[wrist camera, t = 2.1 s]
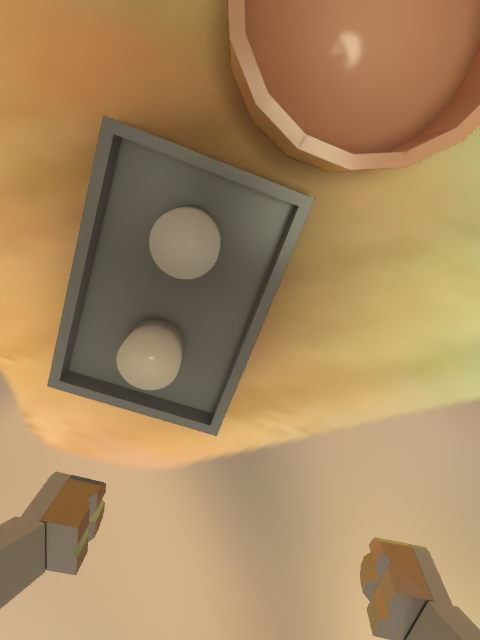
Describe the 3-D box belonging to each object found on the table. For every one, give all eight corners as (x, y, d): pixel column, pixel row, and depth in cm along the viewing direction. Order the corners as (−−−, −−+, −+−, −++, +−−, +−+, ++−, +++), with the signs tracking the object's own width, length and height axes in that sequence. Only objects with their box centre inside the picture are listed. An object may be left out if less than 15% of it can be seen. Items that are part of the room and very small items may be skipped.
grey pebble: (151, 256, 27) (141, 266, 24) (169, 195, 26) (159, 197, 23) (210, 276, 28) (206, 288, 25) (230, 218, 26) (229, 223, 23)
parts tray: (61, 370, 31) (47, 386, 29) (116, 121, 25) (103, 115, 22) (217, 417, 33) (216, 435, 31) (308, 196, 27) (315, 198, 24)
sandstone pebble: (122, 359, 30) (110, 379, 27) (136, 310, 29) (124, 326, 26) (175, 376, 31) (169, 397, 28) (192, 329, 29) (186, 346, 26)
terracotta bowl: (196, 118, 25) (185, 102, 20) (289, -206, 19) (308, -346, 14) (408, 204, 27) (448, 210, 22) (545, -68, 21) (642, -146, 16)
